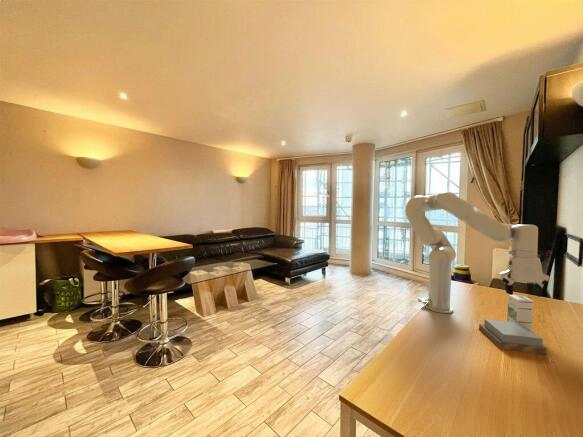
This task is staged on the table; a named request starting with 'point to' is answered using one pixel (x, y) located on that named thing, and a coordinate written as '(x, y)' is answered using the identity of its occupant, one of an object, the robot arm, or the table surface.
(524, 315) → the syrup box
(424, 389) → the table surface
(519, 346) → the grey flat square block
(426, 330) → the table surface
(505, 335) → the slate-grey slab
